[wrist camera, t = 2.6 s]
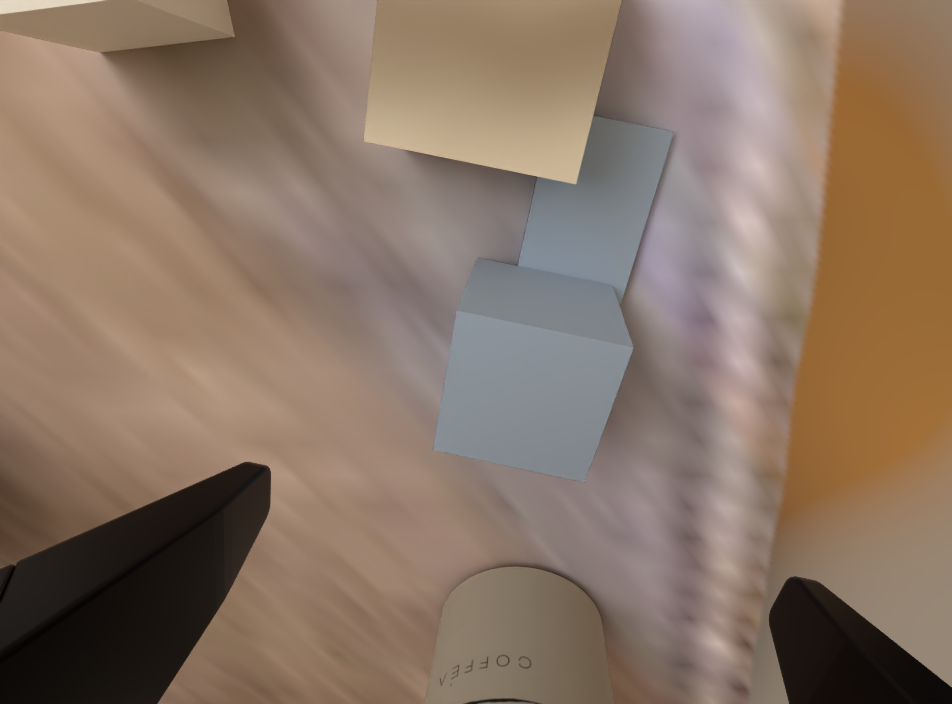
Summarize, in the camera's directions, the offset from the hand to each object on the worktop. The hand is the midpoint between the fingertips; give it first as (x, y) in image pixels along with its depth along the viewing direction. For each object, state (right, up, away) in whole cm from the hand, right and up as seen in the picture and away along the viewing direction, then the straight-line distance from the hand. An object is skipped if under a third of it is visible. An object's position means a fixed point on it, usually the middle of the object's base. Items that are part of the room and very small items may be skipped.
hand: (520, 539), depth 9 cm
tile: (+3, +8, +9) cm, 13 cm away
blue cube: (+1, +4, +11) cm, 12 cm away
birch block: (0, +13, +8) cm, 15 cm away
